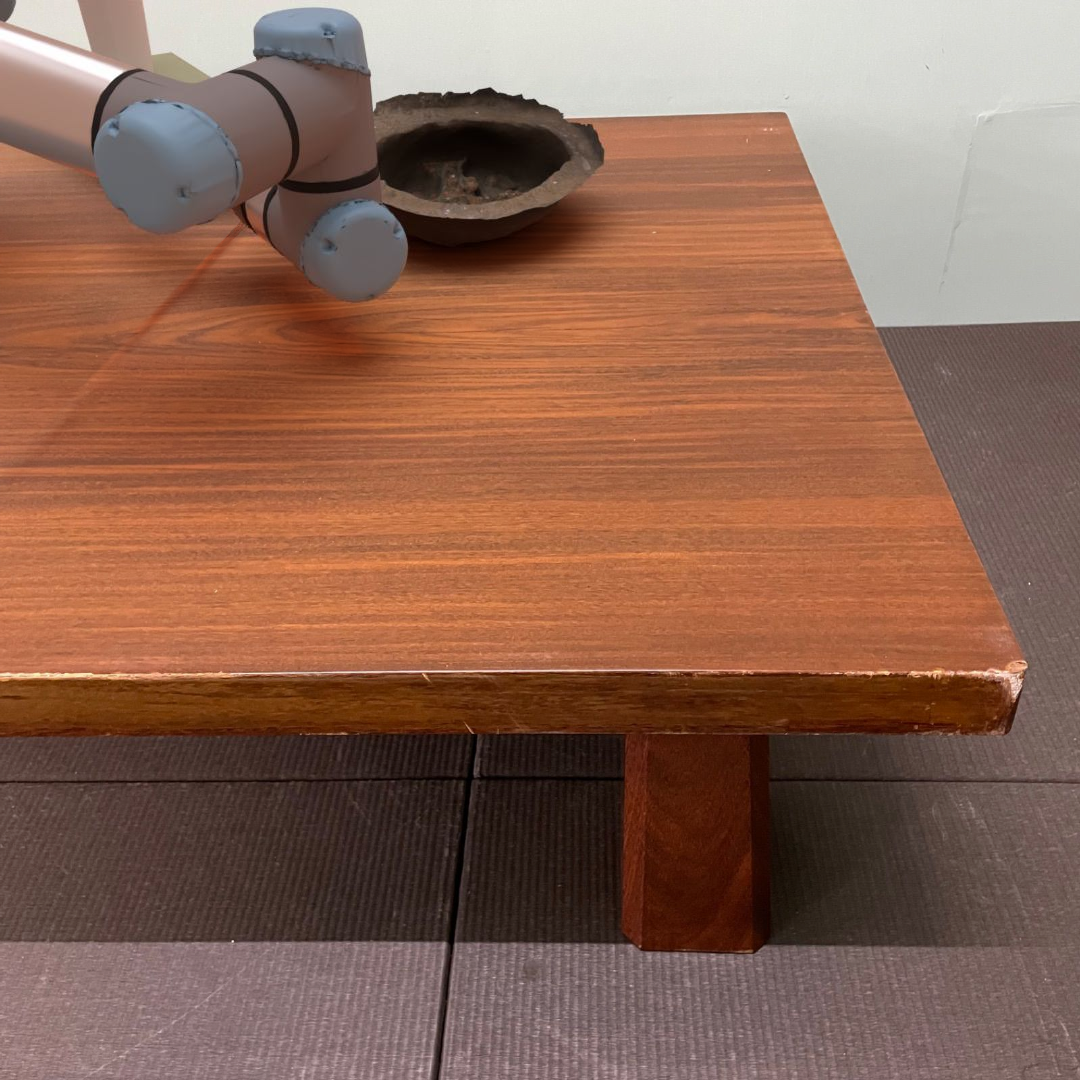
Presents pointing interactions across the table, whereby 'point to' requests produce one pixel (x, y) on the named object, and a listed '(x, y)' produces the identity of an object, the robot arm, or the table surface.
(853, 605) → the table surface
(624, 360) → the table surface
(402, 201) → the stone bowl
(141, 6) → the drinking glass
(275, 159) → the robot arm
